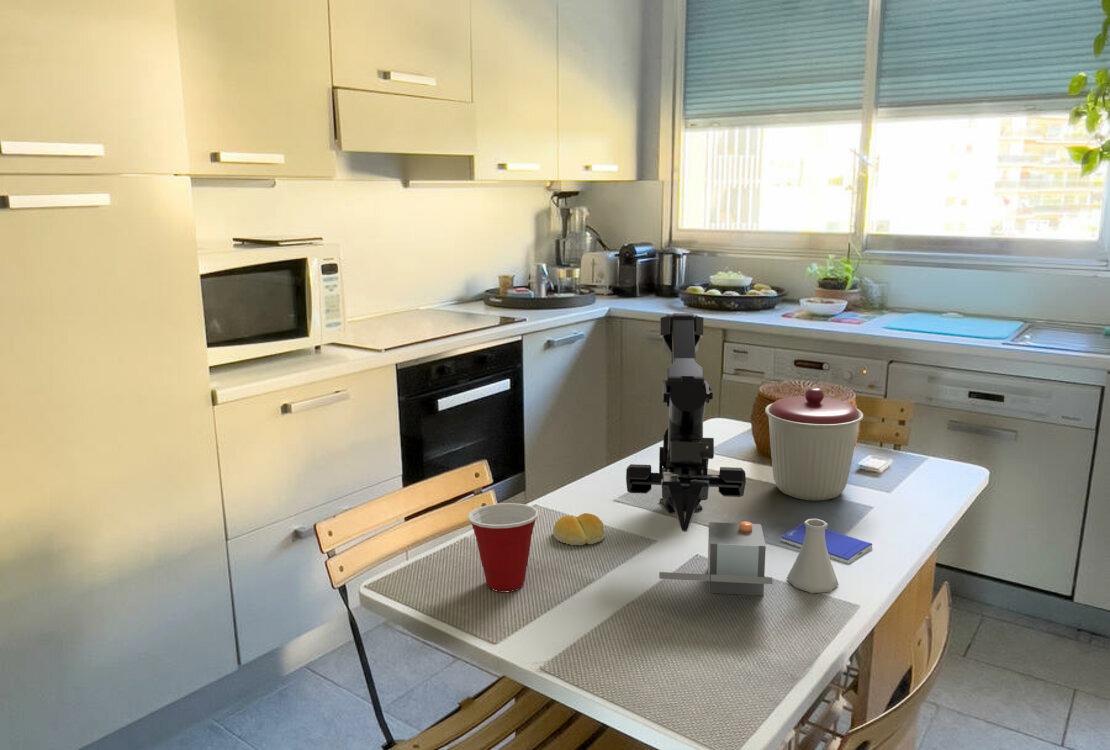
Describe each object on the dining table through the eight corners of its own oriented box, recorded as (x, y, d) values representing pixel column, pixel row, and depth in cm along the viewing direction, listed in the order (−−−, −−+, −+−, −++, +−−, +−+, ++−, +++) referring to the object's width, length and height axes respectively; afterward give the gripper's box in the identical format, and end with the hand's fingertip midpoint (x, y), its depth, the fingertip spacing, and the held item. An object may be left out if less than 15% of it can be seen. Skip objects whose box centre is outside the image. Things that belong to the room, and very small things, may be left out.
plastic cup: (534, 564, 138) (533, 495, 135) (545, 596, 128) (543, 522, 125) (468, 571, 136) (465, 501, 133) (473, 603, 126) (470, 528, 123)
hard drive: (780, 535, 145) (848, 557, 136) (806, 521, 150) (872, 542, 142) (780, 543, 145) (848, 566, 137) (805, 529, 151) (872, 550, 142)
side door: (660, 572, 127) (659, 571, 119) (766, 577, 125) (772, 577, 117) (660, 578, 127) (659, 578, 119) (766, 584, 125) (772, 584, 117)
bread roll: (549, 530, 152) (549, 509, 151) (598, 526, 153) (598, 505, 152) (557, 550, 144) (557, 528, 143) (609, 545, 145) (609, 523, 144)
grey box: (707, 568, 136) (709, 516, 133) (758, 571, 134) (761, 518, 132) (709, 594, 127) (710, 539, 125) (763, 597, 126) (766, 541, 124)
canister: (743, 491, 168) (747, 388, 163) (794, 469, 180) (799, 372, 175) (826, 517, 155) (832, 405, 150) (875, 491, 167) (882, 387, 162)
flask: (811, 598, 126) (815, 536, 123) (778, 579, 132) (780, 519, 130) (847, 587, 129) (851, 526, 126) (812, 568, 135) (816, 509, 133)
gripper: (626, 416, 134) (622, 508, 126) (747, 419, 132) (749, 513, 124) (629, 447, 144) (625, 535, 136) (741, 451, 141) (744, 540, 133)
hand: (684, 530), depth 132 cm, fingers closed
